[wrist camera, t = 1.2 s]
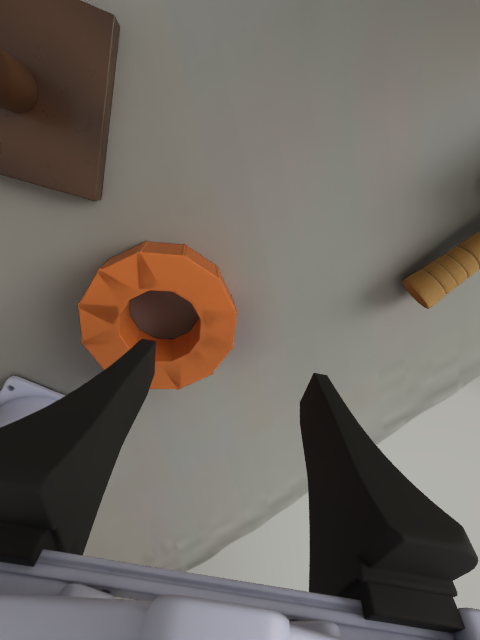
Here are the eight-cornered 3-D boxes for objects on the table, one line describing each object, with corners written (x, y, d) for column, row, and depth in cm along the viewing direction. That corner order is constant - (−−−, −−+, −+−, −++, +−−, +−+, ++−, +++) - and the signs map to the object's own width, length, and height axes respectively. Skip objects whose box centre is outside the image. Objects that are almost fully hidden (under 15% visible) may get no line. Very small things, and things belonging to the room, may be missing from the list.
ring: (185, 382, 26) (184, 409, 23) (70, 326, 22) (51, 349, 19) (255, 291, 23) (265, 308, 20) (137, 211, 20) (127, 217, 17)
